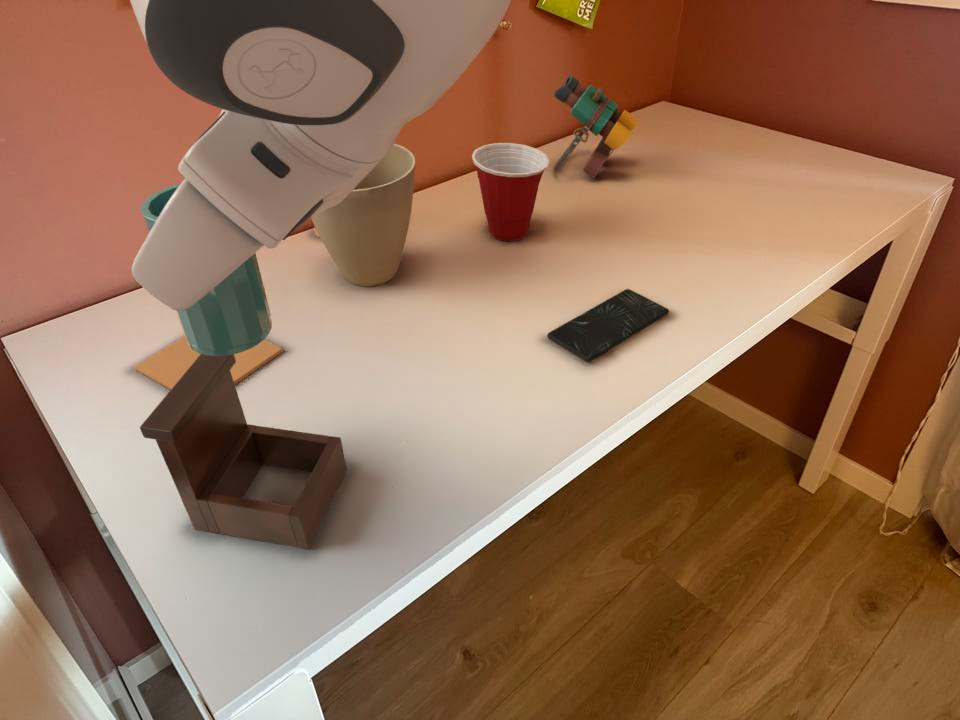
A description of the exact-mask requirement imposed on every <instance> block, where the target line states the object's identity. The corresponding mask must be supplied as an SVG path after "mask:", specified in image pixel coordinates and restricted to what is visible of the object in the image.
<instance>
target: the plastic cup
mask: <svg viewBox="0 0 960 720" xmlns="http://www.w3.org/2000/svg"><path fill="white" fill-rule="evenodd" d="M471 158H472V159H471V160H472V162H473V164H474V166H475V170H476V174H477V178H478V182H479V188H480V193H481V198H482V204H483V205H482V206H483V211H484V214H485V217H486V218H485V219H486V223H487V228H488V231H489V233H490V236H491V237H492V238H494V239H495V240H498V241H501V242H514V241H515V242H517V241H519V240H522V239H524V238H525V237H527V235H528V232H529V230H530V226H531V221H532V216H533V213H534V208H535V206H536V205H535V204H536V201H537V195H538V191H539V186H540V183H541V179H542V177H543V174H544V172H545V171H546V170H547V168H548V166H549V164H550V159H549V157H548V156H547V154H546V153H544V152H543V151H542V150H540V149H538V148H536V147H532V146H530V145H526V144H520V143H514V142H495V143H489V144H485V145H482V146H479V147H478V148H475V149H474V151H473V152H472V155H471Z"/></svg>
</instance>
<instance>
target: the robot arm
mask: <svg viewBox="0 0 960 720" xmlns="http://www.w3.org/2000/svg"><path fill="white" fill-rule="evenodd" d="M129 2H130V5H131V7H132V10H133V12H134V15H135V18H136V21H137V23H138V27H139V29H140V31H141V33H142V36H143V39H144V41H145V43H146V45H147V47H148V50H149V53H150V55H151V57H152V60H153V61H154V63H155V64H156V66H157V67H158V68H159V70H160V72H161V73H162V74H163V75H164V76H165V77H166V78H167V80H168V81H170V82H171V83H172V84H173V85H175V86H176V87H177V88H178V89H180V90H181V91H183V92H184V93H186V94H188V95H189V96H191V97H193V98H194V99H197V100H199V101H201V102H203V103H205V104H207V105H210V106H212V107H216V108H219V109H221V111H220V113H219V115H218V117H217V119H216V120H215V121H214V122H213V123H212V124H211V125H210V126H209V127H208V128H207V129H206V130H205V131H204V132H203V133H202V134H201V135H200V136H199V137H198V138H197V140H196V141H194V143H193V144H192V145H191V147H189V149H188V150H187V152H186V153H185V154H184V156H183V157H182V158H181V160H180V162H179V164H178V166H177V171H178V172H179V173H180V174H181V175H182V177H184V178H183V180H182V181H181V183H179V184H180V185H179V187H178V188H177V189H176V191H175V192H174V193H173V195H172V196H171V198H170V199H169V201H168V202H167V204H166V205H165V207H164V209H163V210H162V212H161V213H160V215H159V217H158V219H157V220H156V222H155V224H154V225H153V227H152V229H151V231H150V232H149V233H148V234H147V236H146V237H145V239H144V241H143V243H142V245H141V247H140V249H139V250H138V252H137V254H136V255H135V258H134V260H133V262H132V265H131V274H132V277H133V279H134V280H135V281H136V282H137V283H138V285H140V286H141V287H142V288H143V289H144V290H145V291H146V292H148V293H149V294H150V295H151V296H153V297H154V298H155V299H157V300H158V301H159V302H161V303H162V304H163V305H165V306H167V307H168V308H169V309H172V310H173V311H175V312H176V311H183V310H186V309H188V308H190V307H191V306H193V305H194V304H196V303H197V302H198V301H199V300H201V299H202V298H203V297H204V296H205V295H207V294H208V293H209V292H210V291H211V290H213V289H214V288H215V287H216V286H217V285H218V284H220V283H221V282H222V281H223V280H224V279H225V278H227V277H228V276H229V275H230V274H231V273H232V272H234V271H235V270H236V269H237V268H238V267H239V266H241V265H242V264H243V263H244V262H245V261H246V260H247V259H249V258H250V257H251V256H252V255H253V254H254V253H255V254H256V253H257V252H258V251H259V250H260V249H262V248H264V246H265V247H266V248H267V249H270V250H271V249H272V250H273V249H274V248H277V246H278V245H279V244H280V243H281V242H282V241H285V240H286V239H287V238H288V237H289V236H290V235H291V234H292V233H293V232H295V230H296V229H297V228H299V227H301V226H302V225H303V224H304V223H306V222H307V221H308V220H309V219H310V218H311V217H313V216H315V215H317V214H319V213H321V212H323V211H325V210H326V209H328V208H330V207H334V206H336V205H338V204H340V203H341V202H342V201H343V200H344V199H345V198H346V197H347V196H348V195H349V194H350V193H351V192H352V191H353V190H354V189H355V188H356V186H357V185H358V184H359V183H360V182H361V181H362V180H363V179H364V178H365V177H366V176H367V175H368V174H369V173H370V172H371V171H372V170H373V168H374V167H375V166H376V165H377V164H378V163H379V162H380V161H381V160H382V159H383V158H384V157H385V156H386V155H387V154H388V152H389V151H390V150H391V148H392V147H393V145H394V144H396V141H397V138H398V136H399V134H400V132H401V130H402V129H403V128H404V127H405V126H406V125H407V124H408V123H409V122H410V121H412V120H413V119H414V120H415V119H416V118H418V117H419V116H421V115H423V114H425V113H426V112H428V111H429V110H431V109H432V107H434V105H435V104H437V102H438V101H439V100H440V99H441V98H442V97H443V96H444V95H445V94H446V93H447V92H448V91H449V90H450V88H451V87H452V86H453V85H454V84H456V82H457V81H458V80H459V79H460V77H461V76H462V75H463V74H464V73H465V71H466V70H467V69H468V68H469V66H470V65H471V64H472V63H473V62H474V61H475V59H476V58H477V57H478V56H479V54H480V53H481V51H483V50H484V48H485V47H486V45H487V44H488V43H489V41H490V40H491V38H492V37H493V35H494V34H495V32H496V31H497V29H499V26H500V25H501V23H502V21H503V19H504V18H505V16H506V14H507V11H508V10H509V8H510V5H511V3H512V0H129Z"/></svg>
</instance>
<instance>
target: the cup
mask: <svg viewBox="0 0 960 720" xmlns="http://www.w3.org/2000/svg"><path fill="white" fill-rule="evenodd" d="M180 184H181V183H178V184H173V185H169V186H167V187H165V188H162V189H161V190H158V191H155V192H154V193H152V194H151V195H150V196H149V197H147V198H146V199H145V200H143V202H142V205H141V208H140V212H141V217H142V218H143V222H144V224H145V227H146V231H147V233H148V234H149V232H150V231H151V229H152V227H153V225H154V224H155V222H156V220H157V219H158V217H159V215H160V213H161V212H162V210H163V209H164V207H165V205H166V204H167V202H168V201H169V199H170V198H171V196H172V195H173V193H174V192H175V191H176V189H177V188H178V187H179V185H180ZM175 312H176V316H177V319H178V322H179V324H180V328H181V331H182V333H183V335H184V336H185V337H186V340H187V343H188V345H189V346H190V348H192V349H193V350H194V351H196V352H198V353H200V354H203V355H208V356H227V355H233V354H237V353H240V352H243V351H246V350H248V349H250V348H253V347H254V346H256V345H258V344H259V343H260V342H262V341H263V340H266V338H267V337H268V336H269V335H270V333H271V330H272V327H273V322H272V314H271V310H270V306H269V301H268V298H267V294H266V290H265V286H264V282H263V278H262V274H261V270H260V266H259V262H258V258H257V254H256V253H254V254H253V255H252V256H251V257H250V258H249V259H247V260H246V261H245V262H244V263H243V264H242V265H241V266H239V267H238V268H237V269H236V270H235V271H234V272H232V273H231V274H230V275H229V276H228V277H227V278H225V279H224V280H223V281H222V282H221V283H220V284H218V285H217V286H216V287H215V288H214V289H213V290H211V291H210V292H209V293H208V294H207V295H205V296H204V297H203V298H202V299H201V300H199V301H198V302H197V303H196V304H194V305H193V306H191V307H190V308H188V309H186V310H183V311H176V310H175Z"/></svg>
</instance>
